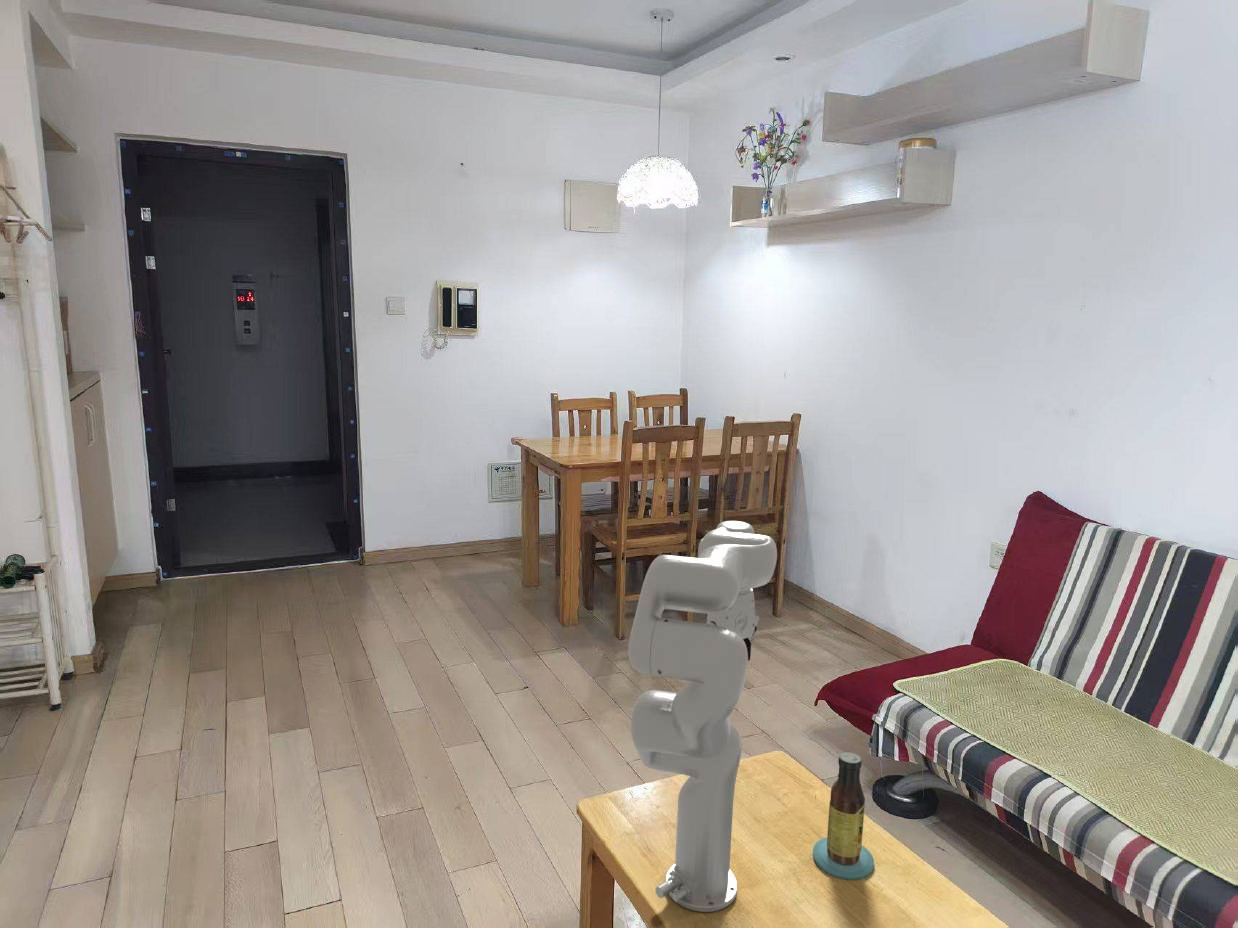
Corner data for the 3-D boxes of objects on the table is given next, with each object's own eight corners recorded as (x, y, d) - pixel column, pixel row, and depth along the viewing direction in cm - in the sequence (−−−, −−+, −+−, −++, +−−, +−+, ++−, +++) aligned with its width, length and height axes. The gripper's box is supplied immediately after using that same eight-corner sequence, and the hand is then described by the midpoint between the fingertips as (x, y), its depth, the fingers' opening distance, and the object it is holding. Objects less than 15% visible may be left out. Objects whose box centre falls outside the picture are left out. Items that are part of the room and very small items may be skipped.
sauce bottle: (864, 867, 148) (873, 769, 144) (830, 866, 148) (838, 767, 144) (855, 844, 154) (863, 749, 150) (822, 843, 154) (830, 748, 150)
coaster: (852, 888, 143) (852, 884, 143) (800, 856, 151) (801, 852, 151) (885, 862, 151) (885, 857, 150) (834, 832, 159) (834, 828, 158)
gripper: (717, 598, 151) (712, 683, 154) (774, 580, 162) (769, 659, 165) (687, 587, 156) (684, 670, 159) (745, 570, 167) (741, 647, 171)
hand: (727, 664), depth 162 cm, fingers open, 9 cm apart
